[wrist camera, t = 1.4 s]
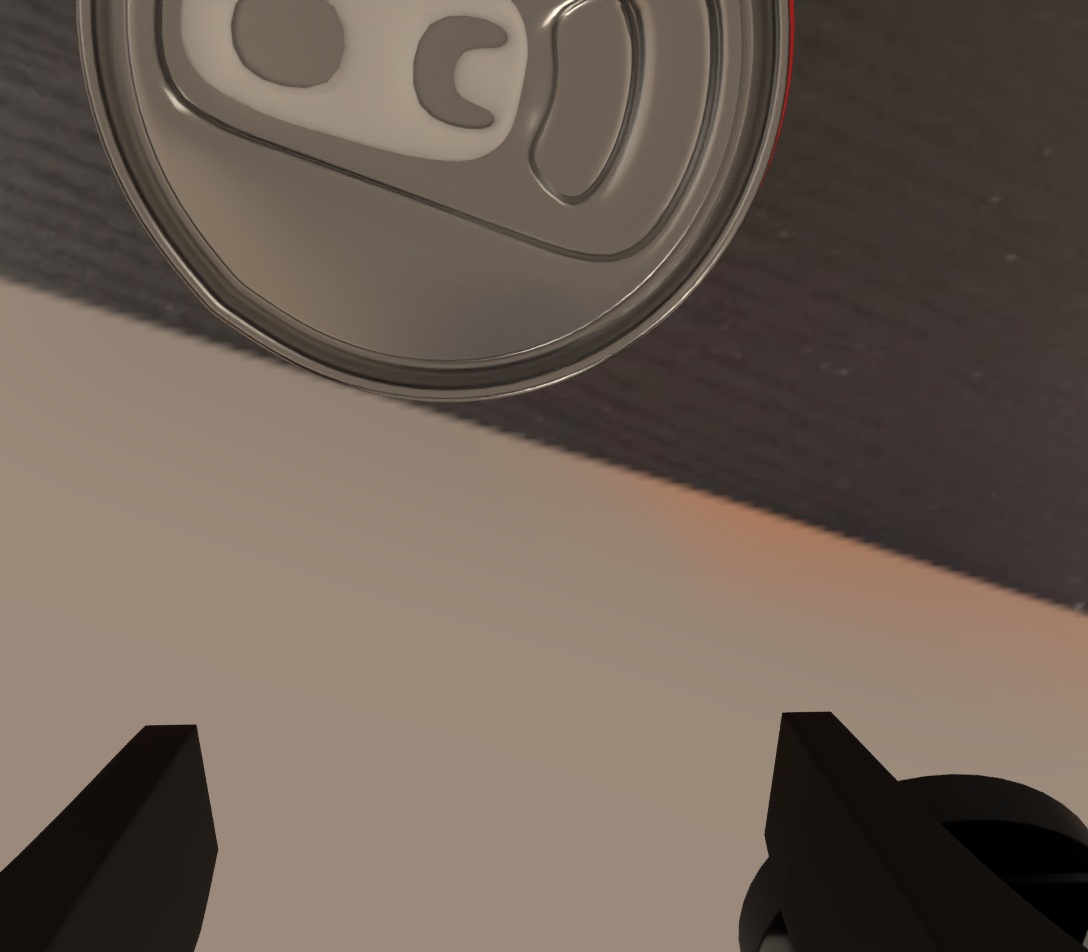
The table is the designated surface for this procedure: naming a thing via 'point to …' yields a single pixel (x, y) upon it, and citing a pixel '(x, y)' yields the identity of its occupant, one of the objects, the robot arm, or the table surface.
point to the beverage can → (439, 171)
